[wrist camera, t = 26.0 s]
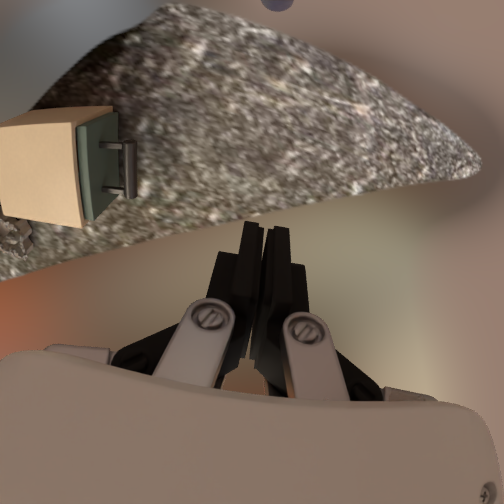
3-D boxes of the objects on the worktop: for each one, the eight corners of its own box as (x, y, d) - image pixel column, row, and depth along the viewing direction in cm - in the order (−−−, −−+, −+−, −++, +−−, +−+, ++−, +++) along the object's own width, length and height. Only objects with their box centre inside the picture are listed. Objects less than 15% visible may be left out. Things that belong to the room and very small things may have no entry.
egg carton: (-4, 232, 40) (-17, 245, 37) (-7, 199, 36) (-22, 211, 33) (35, 255, 42) (22, 270, 39) (34, 221, 38) (19, 235, 35)
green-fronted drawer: (152, 113, 28) (125, 126, 23) (151, 197, 34) (128, 226, 29) (39, 114, 28) (4, 130, 22) (46, 186, 34) (16, 209, 28)
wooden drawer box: (113, 105, 29) (71, 122, 22) (115, 194, 35) (82, 228, 28) (32, 110, 28) (-12, 128, 21) (39, 186, 35) (3, 215, 28)
